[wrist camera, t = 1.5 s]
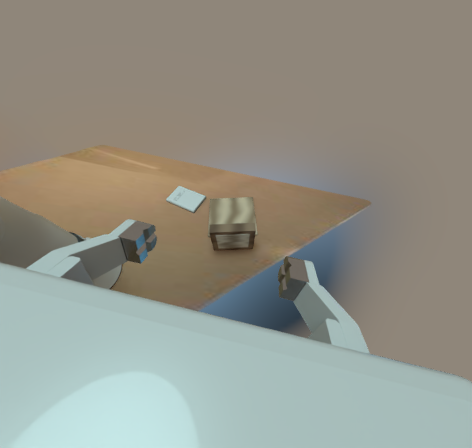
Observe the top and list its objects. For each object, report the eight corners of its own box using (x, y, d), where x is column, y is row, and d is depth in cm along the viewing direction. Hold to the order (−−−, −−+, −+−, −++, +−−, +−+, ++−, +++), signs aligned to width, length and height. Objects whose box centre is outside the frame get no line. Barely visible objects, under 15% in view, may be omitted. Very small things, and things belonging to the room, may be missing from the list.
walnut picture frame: (214, 250, 53) (209, 233, 44) (214, 243, 54) (209, 224, 45) (252, 249, 53) (255, 231, 44) (251, 241, 55) (254, 222, 45)
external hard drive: (194, 214, 61) (167, 202, 64) (206, 198, 65) (180, 188, 68) (193, 211, 60) (165, 199, 63) (205, 195, 64) (179, 185, 67)
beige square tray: (208, 237, 55) (208, 236, 55) (210, 199, 64) (210, 198, 64) (257, 234, 56) (257, 234, 55) (252, 197, 64) (252, 197, 64)
